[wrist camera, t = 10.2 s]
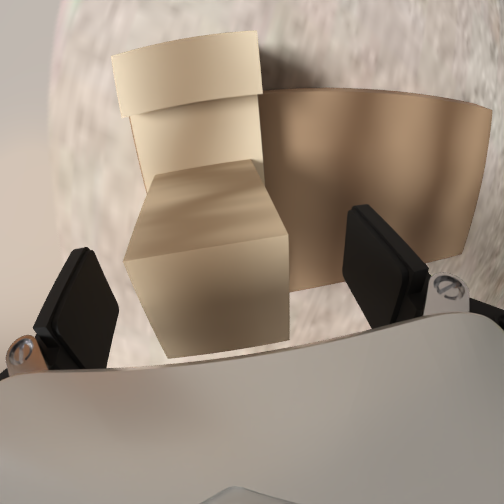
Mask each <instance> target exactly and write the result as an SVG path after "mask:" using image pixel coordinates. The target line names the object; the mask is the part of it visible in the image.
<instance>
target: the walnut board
mask: <svg viewBox="0 0 504 504" xmlns="http://www.w3.org/2000/svg"><path fill="white" fill-rule="evenodd" d="M257 96H258V108H259V119H260V130H261V142H262V154H263V167H264V179H265V188H266V190H267V192H268V194H269V196H270V198H271V200H272V202H273V204H274V206H275V208H276V210H277V212H278V214H279V216H280V218H281V221H282V223H283V225H284V227H285V229H286V231H287V233H288V241H289V292H294V291H299V290H304V289H310V288H315V287H320V286H325V285H330V284H335V283H340V282H345V279H344V277H343V274H342V266H343V256H344V247H345V236H346V224H347V213H348V211H349V210H351V209H352V207H353V206H355V205H363V204H368V205H370V206H371V207H372V208H373V209H374V210H375V211H376V212H377V213H378V214H379V215H380V216H381V217H382V218H383V219H384V220H385V221H386V222H387V223H388V224H389V225H390V226H391V227H392V228H393V229H394V230H395V232H396V233H397V234H398V235H399V236H400V237H401V238H402V239H403V240H404V241H405V242H406V243H407V244H408V245H409V246H410V248H411V249H412V250H413V251H414V252H415V253H416V254H417V255H418V256H419V257H420V259H421V260H422V261H423V262H424V263H429V262H433V261H437V260H441V259H444V258H448V257H452V256H456V255H460V254H462V252H463V249H464V246H465V242H466V239H467V236H468V233H469V230H470V226H471V223H472V219H473V216H474V212H475V208H476V204H477V200H478V196H479V192H480V187H481V183H482V178H483V173H484V168H485V163H486V157H487V151H488V144H489V137H490V129H491V120H492V110H490V109H488V108H485V107H482V106H479V105H477V104H474V103H469V102H464V101H459V100H454V99H449V98H443V97H437V96H430V95H423V94H416V93H407V92H398V91H387V90H373V89H353V88H298V89H277V90H263V94H257ZM129 119H130V116H129ZM130 124H131V119H130ZM131 129H132V124H131ZM132 133H133V129H132ZM133 138H134V134H133ZM134 143H135V138H134ZM135 147H136V143H135ZM136 152H137V147H136ZM137 156H138V152H137ZM138 160H139V156H138ZM139 165H140V161H139ZM140 169H141V165H140ZM141 173H142V169H141ZM142 177H143V173H142ZM143 181H144V177H143ZM144 185H145V181H144ZM145 189H146V185H145ZM146 193H147V189H146Z"/></svg>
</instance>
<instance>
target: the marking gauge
mask: <svg viewBox="0 0 504 504" xmlns="http://www.w3.org/2000/svg"><path fill="white" fill-rule="evenodd" d="M111 60H112V67H113V73H114V79H115V85H116V91H117V97H118V102H119V107H120V112H121V117H122V118H125V117H128V116H130V119H131V124H132V129H133V134H134V138H135V143H136V147H137V152H138V156H139V161H140V165H141V169H142V173H143V177H144V181H145V185H146V189H147V196H146V198H145V201H144V203H143V206H142V209H141V211H140V214H139V217H138V219H137V222H136V225H135V228H134V231H133V234H132V236H131V239H130V242H129V245H128V248H127V251H126V254H125V257H124V261H123V263H124V265H125V268H126V270H127V272H128V275H129V277H130V280H131V282H132V284H133V287H134V289H135V291H136V294H137V296H138V298H139V300H140V303H141V305H142V307H143V309H144V311H145V313H146V316H147V318H148V320H149V322H150V324H151V326H152V328H153V330H154V332H155V334H156V336H157V338H158V340H159V342H160V344H161V346H162V348H163V350H164V352H165V354H166V356H167V358H168V359H170V358H179V357H187V356H195V355H203V354H210V353H217V352H224V351H231V350H237V349H243V348H249V347H255V346H261V345H266V344H272V343H277V342H282V341H287V340H289V327H290V316H289V241H288V233H287V231H286V229H285V227H284V225H283V223H282V221H281V218H280V216H279V214H278V212H277V210H276V208H275V206H274V204H273V202H272V200H271V198H270V196H269V194H268V192H267V190H266V188H265V179H264V167H263V154H262V142H261V130H260V119H259V108H258V96H257V94H263V90H262V79H261V68H260V58H259V47H258V37H257V30H256V31H241V32H229V33H220V34H211V35H204V36H197V37H191V38H185V39H179V40H174V41H169V42H164V43H159V44H155V45H151V46H146V47H142V48H138V49H134V50H131V51H127V52H124V53H120V54H117V55H113V56H111Z"/></svg>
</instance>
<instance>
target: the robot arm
mask: <svg viewBox="0 0 504 504" xmlns="http://www.w3.org/2000/svg"><path fill="white" fill-rule="evenodd" d="M428 269H429V268H428V267H427V265H426V264H425V263H424V262H423V261H422V260H421V259H420V257H419V256H418V255H417V254H416V253H415V252H414V251H413V250H412V249H411V248H410V246H409V245H408V244H407V243H406V242H405V241H404V240H403V239H402V238H401V237H400V236H399V235H398V234H397V233H396V232H395V230H394V229H393V228H392V227H391V226H390V225H389V224H388V223H387V222H386V221H385V220H384V219H383V218H382V217H381V216H380V215H379V214H378V213H377V212H376V211H375V210H374V209H373V208H372V207H371V206H370V205H368V204H363V205H355V206H353V207H352V209H351V210H349V211H348V213H347V224H346V236H345V247H344V256H343V266H342V274H343V277H344V279H345V281H346V283H347V285H348V286H349V288H350V290H351V292H352V294H353V295H354V297H355V299H356V301H357V302H358V304H359V306H360V308H361V310H362V312H363V313H364V315H365V317H366V319H367V321H368V323H369V324H370V326H371V328H372V329H370V330H366V331H362V332H357V333H353V334H349V335H345V336H341V337H336V338H332V339H328V340H323V341H318V342H314V343H309V344H304V345H299V346H294V347H288V348H283V349H277V350H272V351H266V352H260V353H254V354H248V355H241V356H234V357H227V358H220V359H212V360H204V361H196V362H187V363H177V364H167V365H155V366H142V367H127V368H106V367H107V362H108V357H109V352H110V348H111V343H112V339H113V334H114V330H115V326H116V322H117V318H118V314H119V307H118V303H117V301H116V299H115V297H114V295H113V293H112V291H111V289H110V287H109V284H108V282H107V280H106V278H105V276H104V273H103V271H102V269H101V267H100V264H99V262H98V260H97V257H96V255H95V253H94V251H93V250H90V249H89V248H88V247H84V248H79V249H74V250H73V251H72V252H71V254H70V256H69V257H68V259H67V261H66V263H65V265H64V266H63V268H62V270H61V272H60V274H59V276H58V278H57V279H56V281H55V283H54V285H53V287H52V289H51V291H50V293H49V295H48V297H47V299H46V301H45V303H44V305H43V307H42V309H41V311H40V313H39V315H38V317H37V320H36V322H35V324H34V326H33V329H34V330H35V332H36V333H37V334H36V336H35V337H33V336H32V335H24V336H21V337H20V338H18V339H16V340H15V341H14V342H13V343H12V344H11V346H10V347H9V349H8V351H7V354H6V365H7V369H5V370H4V371H3V372H2V373H0V504H504V310H502V309H499V308H497V307H494V306H491V305H489V304H486V303H483V302H480V301H478V300H475V299H472V298H469V289H468V287H467V285H466V283H465V282H464V281H463V280H462V279H460V278H459V277H457V276H455V275H453V274H450V273H445V272H442V273H436V274H434V275H433V276H431V275H430V274H429V273H428Z"/></svg>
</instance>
